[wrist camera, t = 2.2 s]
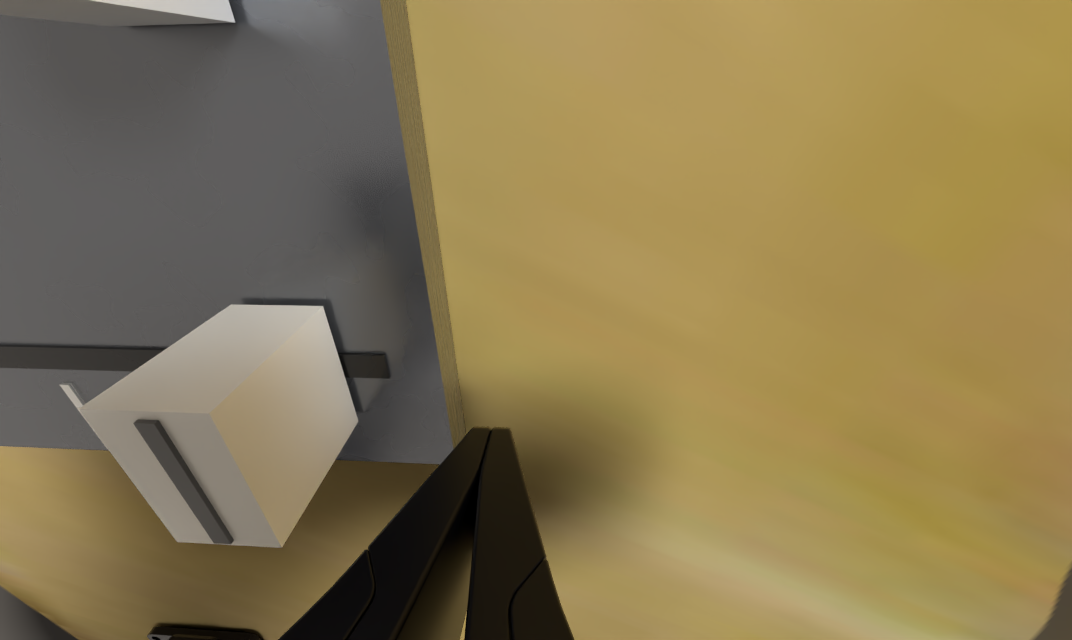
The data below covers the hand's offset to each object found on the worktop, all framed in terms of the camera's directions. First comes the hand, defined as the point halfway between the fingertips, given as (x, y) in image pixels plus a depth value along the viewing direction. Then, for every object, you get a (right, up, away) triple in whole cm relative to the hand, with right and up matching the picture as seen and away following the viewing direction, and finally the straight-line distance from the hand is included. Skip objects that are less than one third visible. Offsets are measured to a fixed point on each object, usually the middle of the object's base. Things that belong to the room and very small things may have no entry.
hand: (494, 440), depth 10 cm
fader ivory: (-6, +1, +3) cm, 6 cm away
